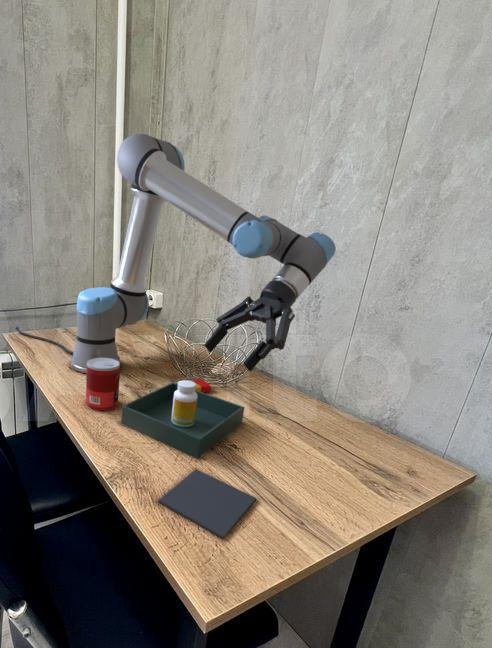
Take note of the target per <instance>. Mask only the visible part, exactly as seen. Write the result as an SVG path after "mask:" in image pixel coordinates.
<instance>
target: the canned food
mask: <svg viewBox="0 0 492 648" xmlns="http://www.w3.org/2000/svg"><path fill="white" fill-rule="evenodd" d="M120 375H121V362H120V363H119V362H118V361H117V360H114V359H110V358H94V359H90V360H89V361H88V362H87V373H86V379H85V380H86V381H85V383H86V385H85V386H86V387H85V402H86V405H87V407H89V408H90V409H93V410H96V411H109V410H113V409H115V408H116V407H117V406H118V403H119V393H120Z"/></svg>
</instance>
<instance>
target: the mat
mask: <svg viewBox="0 0 492 648" xmlns="http://www.w3.org/2000/svg"><path fill="white" fill-rule="evenodd" d="M256 500H257V498H256V497H255V496H253V495H251V494H249V493H246V492H244V491H242V490H240V489H238V488H236V487H234V486H233V485H230V484H228V483H226V482H224V481H222V480H220V479H217V478H215V477H213V476H211V475H209V474H207V473H205V472H204V471H200V470H199V469H197V468H196V469H194V470H193V471H192V472H190V473H189V475H186V477H184V479H182V480H181V481H180V482H179V483H178V484H176V485H175V486H174V487H173V488H171V489H170V490H169V491H168V492H167V493H165V494H164V495H163V496H162V497H160V498H159V499H158V503H159V504H161V506H164V507H165V508H168V509H169V510H171V511H173V512H174V513H176V514H178V515H180V516H181V517H183V518H185V519H187V520H188V521H190V522H192V523H194V524H195V525H197V526H199V527H201V528H202V529H205V530H206V531H208V532H209V533H211V534H213V535H215V536H216V537H218V538H220V539H221V540H224V539H225V537H226V536H227V535H228V534H229V533H230V532H231V530H232V529H233V528H234V527H235V526H236V525H237V524H238V522H239V521H240V520H241V519H242V517H243V516H244V515H245V514H246V512H248V510H249V509H251V507H252V505H254V503H255V502H256Z"/></svg>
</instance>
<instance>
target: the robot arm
mask: <svg viewBox="0 0 492 648" xmlns="http://www.w3.org/2000/svg"><path fill="white" fill-rule="evenodd" d="M116 164H117V168H118V171H119V173H120V175H121V176H122V177H123V179H125V180H126V181H127V182H129V183H131V185H130V191H131V192H132V194H133V196H134V197H133V201H132V204H131V205H132V206H131V211H130V214H129V215H130V216H129V220H128V225H127V229H126V232H125V233H126V234H125V237H124V243H123V247H122V251H121V257H120V261H119V266H118V271H117V275H116V277H114V278H112V279H111V280H110V285H109V287H106V286H105V287H103V286H102V287H101V286H100V287H90V288H86V289H84V290H82V291H80V292H79V293H78V296H77V302H76V306H75V307H76V343H75V346H74V349H73V351H72V350H68V349H67V348H66V347H65V346H64V345H63V344H61V343H58V342H57V341H54V340H52V339H49V338H46V337H42V336H38V335H33V334H30V333H26V332H23V331H21V330H20V327H19V326H16V327H15V330H17V332H18V333H19V334H21V335H23V336H26V337H30V338H34V339H37V340H42V341H45V342H49V343H52V344H54V345H57V346H58V347H60V348H61V349H62V350H63V351H65V352H66V353H68V354H71V357H70V367H71V368H72V369H73V370H74V371H77V372H78V373H81V374H82V373H83V374H87V362H88V361H89V360H90V359H94V358H110V359H114V360H117V361H118V362H119V363H120V364H121V359H120V356H119V353H118V349H117V345H116V330H117V329H119V328H123V327H126V326H131V325H135V324H137V323H138V322H140V321H142V320H143V319H144V318H145V317H146V315H147V314H148V311H149V308H150V301H149V299H148V294H147V291H148V288H147V286H146V285H145V279H146V275H147V270H148V267H149V263H150V259H151V256H152V251H153V247H154V243H155V240H156V235H157V232H158V228H159V227H158V226H159V223H160V220H161V216H162V211H163V208H164V207H163V206H164V204H165V203H166V202H168V203H169V204H170V205H172V206H173V207H175V208H176V209H178V210H180V211H181V212H183V213H184V214H186V215H187V216H189V218H191V219H193V220H195V221H196V222H197V223H199V224H201V225H202V226H203V227H205V228H206V229H208V230H210V231H211V232H213V233H214V234H215V235H217V236H219V237H220V238H222V239H223V240H225V241H226V242H227V243H229V244H231V245H232V246H233V249H234V250H235V252H236V253H237V254H238V255H239V256H241V257H243V258H248V259H258V258H262V257H271V258H272V259H274V260H276V261H278V262H279V263H281V264H282V265H283V266H282V267H280V269H279V270H278V271H277V272H276V273H275V274H274V275H273V277H272V278H271V280H270V281H268V283H267V284H266V285H265V286H264V287H263V289H262V290H261V292H260V295H259V298H257V299H256V300H254V299H252V297H251V296H246V297H245V298H244V300H242V301H241V302H239V304H237V305H235V306H234V307H232V308H231V309H229V310H227V311H226V312H224V313H223V314H222V315H220V316H218V317H217V318H216V319H215V321H216V322H217V324H218V326H217V327H216V328H215V329H214V331H213V332H212V333H211V336H210V337H209V339H208V340H206V342H205V343H204V344H203V346H204V347H205V348H206V350H207V351H208V352H209V353H212V352H213V351H214V350H215V349H216V348H217V346H218V345H219V344H220V343H221V341H222V340H223V339H224V338H225V337H226V336H227V335H228V333H229V332H228V330H231V329H233V328H236V327H238V326H240V325H243V324H245V323H247V322H254V321H256V322H261V323H262V324H265V339H264V340H261V341H260V343H259V344H258V345H257V346H256V347H255V348H254V349H253V351H252V352H251V353H250V354H249V355H248V357H246V359H245V360H244V361H243V362H242V364H243V365H244V367H245V368H246V369H247V371H248V372H252V371H253V369H255V367H256V366H257V365H258V364H259V363H260V361H263V360H264V359H265V358H267V356H268V355H269V353H271V352H272V350H275V349H278V350H280V351H281V350H284V349H285V346H286V342H287V338H288V335H289V331H290V327H291V323H292V322H293V320H294V319H295V317H296V315H295V313H294V311H293V309H292V306H293V305H294V304H295V303H296V301H297V299H299V298H300V296H301V295H302V294H303V293H304V292H305V291H306V289H308V287H309V286H310V285H311V283H312V282H313V281H314V280H315V279H316V278H317V277H318V276H319V274H320V273H321V272H322V271H323V270H324V269H325V268H326V266H327V265H328V263H329V262H330V261H331V259H332V258H333V256H334V255H335V254H336V250H337V249H336V244H335V242H334V240H333V239H332V238H331V237H329V236H328V235H327V234H325V233H323V232H322V233H320V232H317V231H316V232H312V233H310V234H309V235H308V236H304V235H302V234H299V233H298V232H296V231H295V230H293V229H291V228H289V227H288V226H286V225H284V224H283V223H282V222H279V221H278V220H277V219H276V218H272V217H270V216H268V215H265V214H264V215H260V216H259V217H258V216H256V215H254V214H253V213H251V212H249V211H248V210H247V209H245V208H244V207H242V206H240V205H238V204H237V203H236V202H234V201H232V200H231V199H229V198H228V197H226V196H224V195H223V194H221V193H220V192H218V191H216V190H215V189H213V188H212V187H210V186H209V185H207V184H205V183H204V182H202V181H200V180H199V179H198V178H196V177H194V176H193V175H191V174H190V173H187V172H186V171H185V170H186V169H185V168H186V167H185V166H186V165H185V159H184V156H183V153H182V152H181V150H180V149H179V148H178V147H177V146H176V145H174V144H172V143H171V142H170V141H169V142H168V141H167V140H163V139H160V138H156V137H154V136H151V135H149V134H145V133H135V134H131V135H129V136H128V137H126V138H125V139H124V140H123V141H122V142H121V144H120V146H119V148H118V151H117V155H116ZM279 318H280V320H279V323H278V327H277V330H276V326H277V319H279Z"/></svg>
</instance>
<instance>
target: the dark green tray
mask: <svg viewBox="0 0 492 648" xmlns="http://www.w3.org/2000/svg"><path fill="white" fill-rule="evenodd" d="M176 390H178V384H177V383H175V381H172V382H170V383H168V384H165V385H164V386H162V387H160V388H158V389H155V390H154V391H151V392H149V393H146V394H145V395H143V396H140V397H138V398H137V399H134V400H131V401H129V402H128V403H126V404H124V405H122V406H121V421H120V422H121V424H122V425H124V426H126V427H127V428H130V429H132V430H135V431H136V432H139V433H140V434H143V435H146V436H148V437H150V438H152V439H154V440H156V441H158V442H161V443H162V444H165V445H168V446H169V447H171V448H173V449H176V450H178V451H180V452H182V453H184V454H186V455H189V456H190V457H193V458H195V459H199V458H201V457H202V456H203V455H204V454H206V453H207V452H208V451H209V450H211V449H212V448H213V447H214V446H216V445H217V444H218V443H219V442H221V441H222V440H223V439H225V437H227V436H228V435H230V434H231V433H232V432H234V431H235V430H236V429H237V428H238V427H239V426H241V425H242V424H243V417H244V412H245V406H242V405H241V404H240V405H239V404H236V403H234V402H230V401H229V400H225V399H222V398H221V397H217V396H213V395H211V394H208V393H206V392H203V393H202V392H199V391H197V390H195V392H196V393H197V396H198V397H197V406H196V414H195V422H194V424H193V425H192V426H190V427H180V426H177V425H175V424H173V423H172V421H171V416H172V407H173V397H174V392H175V391H176Z"/></svg>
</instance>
